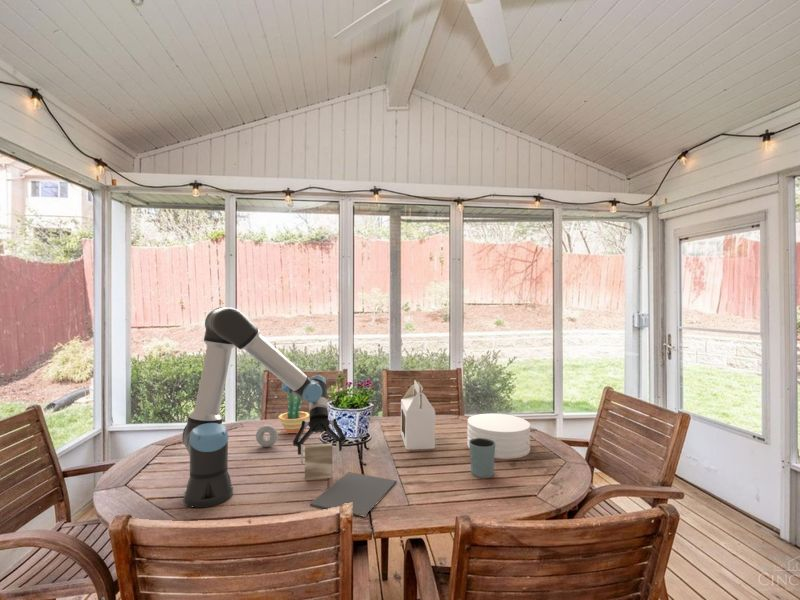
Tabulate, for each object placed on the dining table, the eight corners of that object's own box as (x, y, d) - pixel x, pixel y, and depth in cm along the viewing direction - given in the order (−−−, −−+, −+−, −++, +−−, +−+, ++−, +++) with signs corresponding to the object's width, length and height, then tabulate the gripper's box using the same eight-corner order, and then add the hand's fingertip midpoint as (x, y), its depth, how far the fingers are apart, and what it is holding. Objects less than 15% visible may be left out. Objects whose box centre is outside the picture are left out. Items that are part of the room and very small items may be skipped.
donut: (279, 445, 184) (279, 423, 184) (276, 448, 181) (276, 426, 181) (257, 445, 184) (257, 423, 184) (254, 448, 181) (254, 426, 181)
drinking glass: (476, 479, 150) (476, 447, 150) (464, 469, 160) (464, 438, 160) (500, 476, 153) (500, 445, 153) (487, 466, 162) (487, 436, 162)
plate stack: (456, 440, 193) (456, 416, 193) (505, 434, 202) (505, 411, 202) (489, 462, 166) (489, 435, 166) (543, 453, 176) (543, 427, 176)
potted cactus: (314, 427, 210) (315, 380, 210) (299, 437, 195) (300, 386, 195) (288, 425, 214) (289, 378, 214) (272, 434, 199) (272, 384, 199)
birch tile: (304, 476, 152) (305, 445, 152) (331, 474, 154) (331, 443, 154) (304, 480, 149) (305, 447, 149) (332, 477, 151) (332, 445, 151)
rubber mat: (365, 517, 123) (365, 515, 123) (309, 505, 131) (309, 503, 131) (396, 482, 148) (396, 480, 148) (348, 473, 155) (348, 471, 155)
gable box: (435, 449, 181) (435, 387, 181) (406, 450, 179) (406, 387, 179) (426, 433, 203) (426, 377, 203) (400, 433, 202) (401, 378, 202)
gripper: (347, 413, 172) (352, 461, 158) (287, 417, 166) (286, 468, 151) (349, 403, 167) (354, 453, 152) (287, 407, 161) (286, 459, 146)
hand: (320, 460), depth 152 cm, fingers open, 13 cm apart
